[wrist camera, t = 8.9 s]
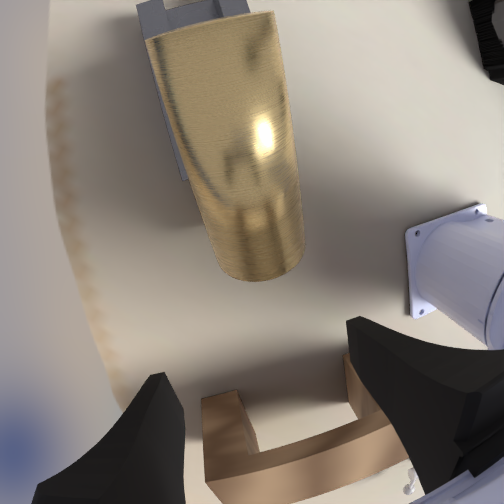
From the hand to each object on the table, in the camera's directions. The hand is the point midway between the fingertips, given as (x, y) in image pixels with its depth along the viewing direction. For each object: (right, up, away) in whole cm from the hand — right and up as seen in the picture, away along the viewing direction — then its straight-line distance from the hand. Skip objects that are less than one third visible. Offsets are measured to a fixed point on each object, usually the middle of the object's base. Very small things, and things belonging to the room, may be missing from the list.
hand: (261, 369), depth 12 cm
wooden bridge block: (+4, -8, +14) cm, 16 cm away
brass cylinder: (-2, +10, +4) cm, 11 cm away
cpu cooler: (+25, +25, +8) cm, 36 cm away
